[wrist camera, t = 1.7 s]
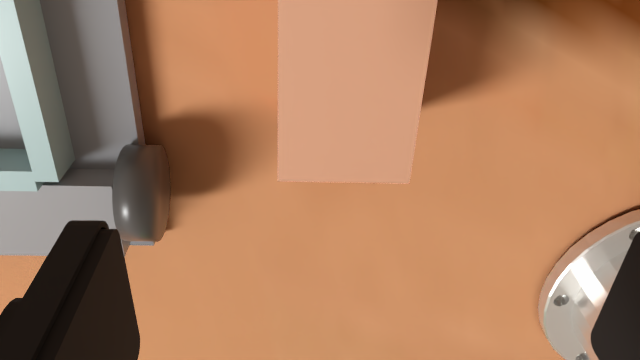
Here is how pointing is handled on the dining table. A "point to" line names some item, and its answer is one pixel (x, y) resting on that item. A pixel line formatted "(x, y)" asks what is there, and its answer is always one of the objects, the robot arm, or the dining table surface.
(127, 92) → the chassis
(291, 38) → the terracotta rectangular box
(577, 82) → the dining table surface
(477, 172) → the dining table surface
